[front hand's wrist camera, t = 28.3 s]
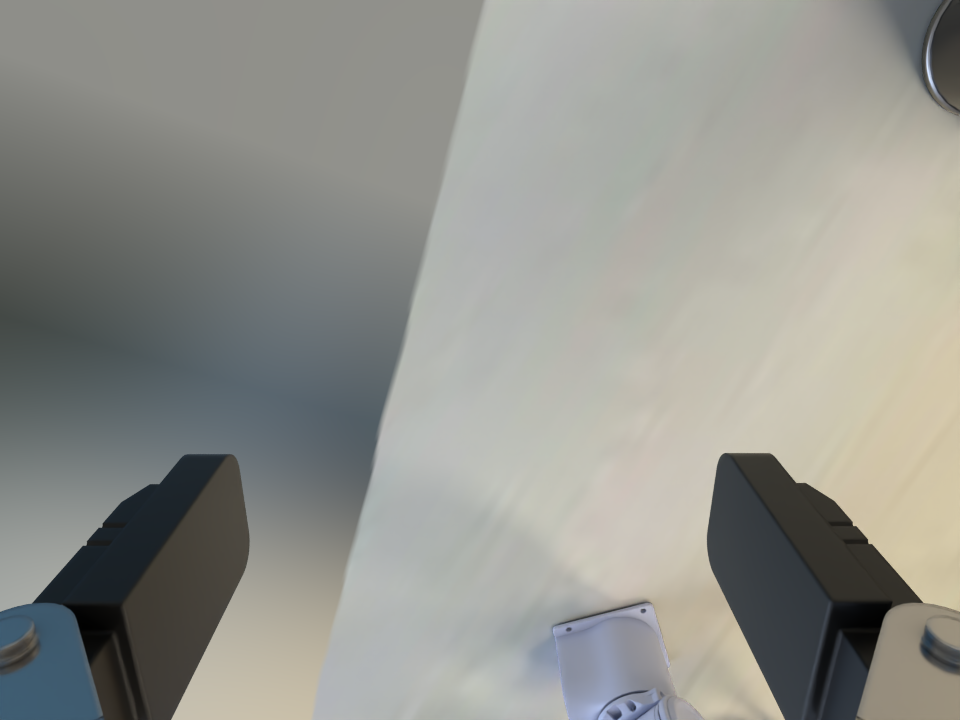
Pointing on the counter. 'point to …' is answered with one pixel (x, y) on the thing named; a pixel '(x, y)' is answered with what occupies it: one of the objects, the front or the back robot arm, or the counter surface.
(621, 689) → the back robot arm
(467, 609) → the counter surface
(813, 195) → the counter surface
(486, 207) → the counter surface
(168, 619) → the front robot arm
